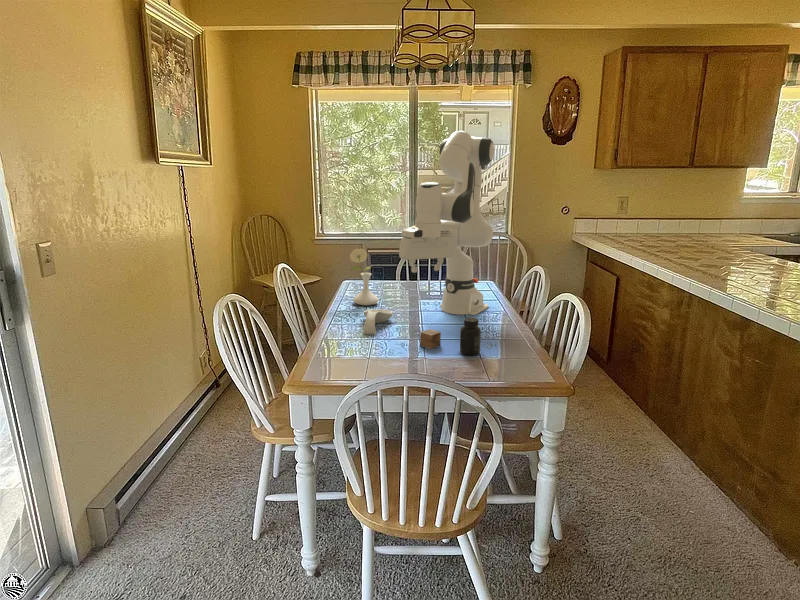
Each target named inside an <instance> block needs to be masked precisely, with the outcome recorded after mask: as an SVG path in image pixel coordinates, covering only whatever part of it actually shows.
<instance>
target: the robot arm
mask: <svg viewBox="0 0 800 600" xmlns="http://www.w3.org/2000/svg"><path fill="white" fill-rule="evenodd" d="M494 155H495V145H494V142H493V140H492V139H491V138H489V137H484V136H483V137H482V136H481V137H477V136H471V135H470V134H469V133H468V132H466V131H464V130H457V131H454V132H452V133H451V135H450V136H449V137H448V138H444V139H443V140H442V141H441V142H440V146H439V158H438V164H439V168H440V171H441V172H442V173H443V174H444V175H445V176H446V177H447V178H450V179H451V180H452V179H453V180H454V187H453V192H443V188H442V184H441V183H439V182H437V181H427V182H421V183H420V184H419V185H418V187H417V193H416V201H415V212H416V217H415V220H414V221H415V223H414V225H412V226H410V227H407V228H404V229H402V230H401V237H402V238H401V239H400V242H399V248H398V249H399V250H398V251H399V252H398V253H399V254H398V256H399V258H400V259H401V260H404V261H408V264H409V265H410V268H411V273H414V274H416V273H418V270H419V269H418V267H417V266H416V265H415V263H416V260H431V259H436V260H437V262H436V264H435V265H434V267H433V270H434V271H435V272H440V271H441V268H442V267H441V266H442V265H443V263H444V262H445V261H446V277H445V280H444V286H445V288H444V289H443V293H442V301H441V303H440V304H439V306H440V309H441V311H442V312H444V313H447V314H453V315H470V316H471V315H472V316H473V315H474V316H476V315H477V314H479V313H481V312H483V311H485V310H486V309H488V308H489V304H487V303H485V302H484V295H483V293H482V292H481V291H479V290H478V288H477V287H476V285H475V284H478V283H479V278H475V277H474V261H473V258H471V257H470V256H469V255H467V254H466V253H464V251H463V250H462V247H466V248H482V247H488V245H490V243H491V242H492V241H493V237H494V230H493V228H492V225H491V224H490V223H489V222H488V221H487V220H486V218H484V217H483V214H482V212H481V208H480V207H481V204H480V202H481V201H480V200H481V190H482V183H483V182H482V180H483V179H482V175H483V174H482V170H484V169H485V168H486V166H488V165H489V164H491V162H492V160H493V158H494ZM444 259H446V260H445V261H444Z"/></svg>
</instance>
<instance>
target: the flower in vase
mask: <svg viewBox="0 0 800 600" xmlns="http://www.w3.org/2000/svg"><path fill="white" fill-rule="evenodd" d="M348 256H349V259H350V261H351V262H355V263H359V264H358V265H359V266H357V265H356V266H353V267H352V268H351V269H350V270H351V271H355V272H356V271H360V270H361V271H362V272H361V273H359V274H360V276H361V277H362V282H363V288H362V290H361V291H360V292H359V293H357V295H355V296H354V297H353V300H352V301H353V303H354V304H356V305H360V306H372V305H375V304H377V303H379V301H380V300H379V298H378V297H377V296H376V294H374V293H373V292H372V291H371V290H370V289H369V281H370V278H371V276H372V273H371V272H367V271H369V270H370V269H372V266H373V265H369V266H366V267H364V269H363V268H362V266H361V263H362V262H364V261H366V260H367V258H368V252H367V251H366V249H364V248H355V249H353V250H352V251H351V252H350V254H349V255H348Z"/></svg>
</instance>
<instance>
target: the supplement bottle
mask: <svg viewBox="0 0 800 600" xmlns="http://www.w3.org/2000/svg"><path fill="white" fill-rule="evenodd" d="M479 320H480V319H479V318H477V317H473V316H472V317H471V316H470V317H469V316H468V317H465V318H464V319H463V325H462V327H461V328H460V334H459V335H460V336H459V337H460V338H459V353H460V354H461V355H462V356H465V357H477V356H479V355H480V354H481V343H482V329H481V328H480V326H479V323H480V322H479Z"/></svg>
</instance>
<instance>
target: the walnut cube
mask: <svg viewBox="0 0 800 600" xmlns="http://www.w3.org/2000/svg"><path fill="white" fill-rule="evenodd" d="M419 337H420V338H419V345H421V347H423V346H424V347H423V348H426V347H427V348H426V349H429V348H430V349H429V350H432V348H433V349H435V348H437V346H438V347H440V346H441V340H442V339H441V337H442V332H440V331H438V330H435V329H431V328H428V329H426V330H423V331H420V336H419Z"/></svg>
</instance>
